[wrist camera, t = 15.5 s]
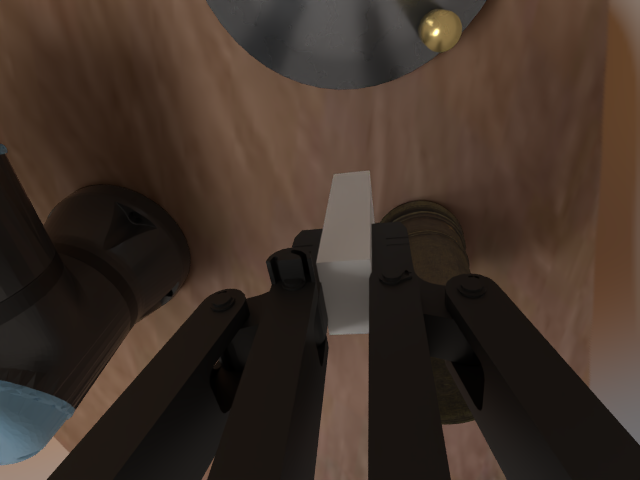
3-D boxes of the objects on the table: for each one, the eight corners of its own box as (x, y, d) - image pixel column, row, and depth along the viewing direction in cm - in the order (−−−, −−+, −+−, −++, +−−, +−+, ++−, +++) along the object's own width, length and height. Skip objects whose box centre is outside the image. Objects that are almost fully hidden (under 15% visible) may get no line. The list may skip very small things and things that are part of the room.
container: (427, 182, 38) (467, 310, 22) (480, 245, 40) (547, 398, 25) (354, 234, 41) (345, 375, 26) (407, 289, 44) (426, 444, 29)
